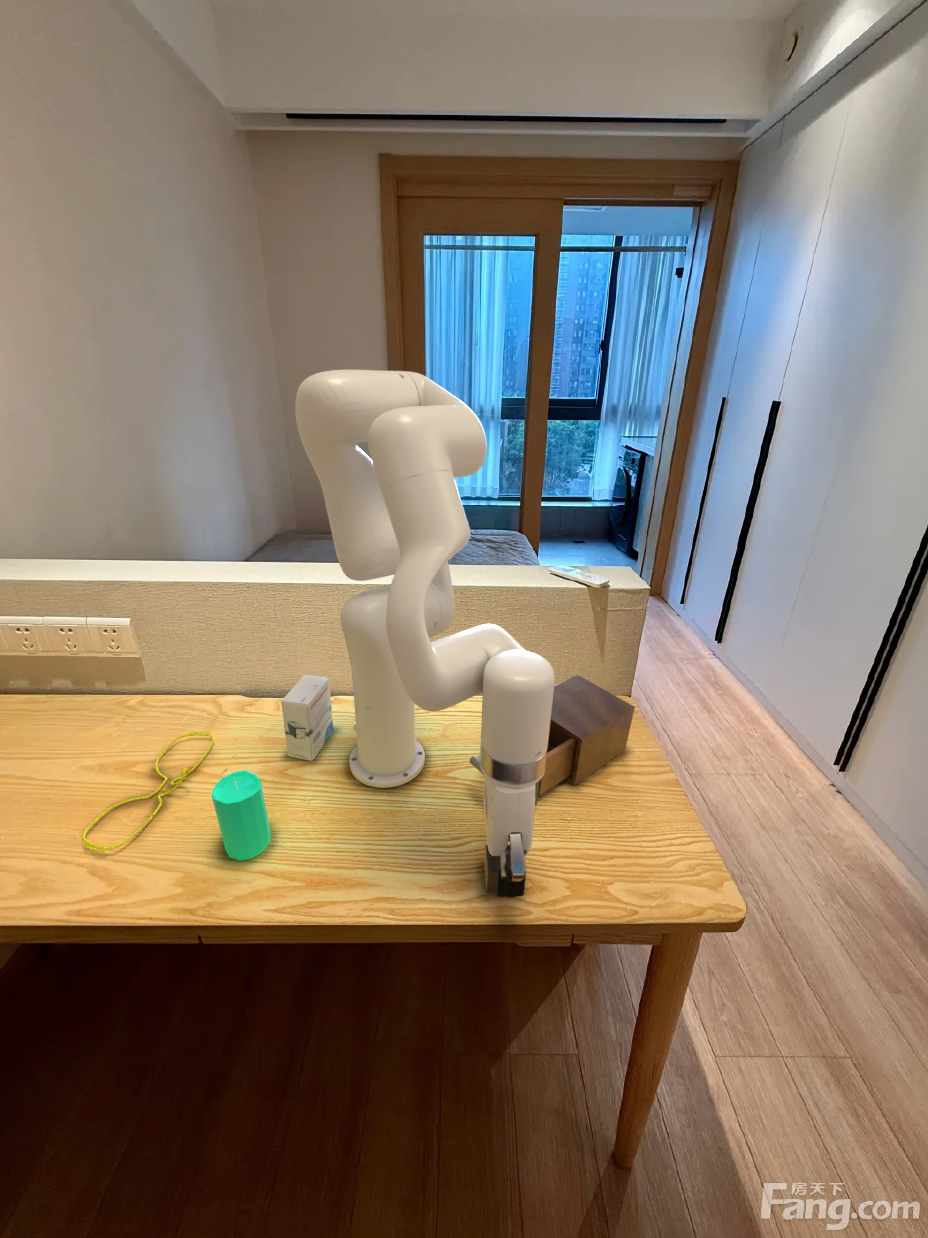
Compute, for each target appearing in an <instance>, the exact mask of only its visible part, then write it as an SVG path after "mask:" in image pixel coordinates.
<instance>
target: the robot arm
mask: <svg viewBox="0 0 928 1238" xmlns="http://www.w3.org/2000/svg"><path fill="white" fill-rule="evenodd" d="M294 406H295V407H294V411H295V422H296V423H295V424H296V427H297V431H298V435H299V439H300V441H301V444H302V447H303V449H304V452H305V454H306V456H307V458H308V460H309V462H310V464H311V466H312V468H313V471H314V472H315V474H316V476H317V479H318V481H319V483H320V486H321V491H322V494H323V498H324V499H323V500H324V504H325V505H324V506H325V508H326V513H327V518H328V522H329V526H330V533H331V537H332V540H333V545H334V550H335V554H336V557H337V560H338V561H337V562H338V563H339V567H340V568H341V570H342V573H343V574H344V576H346V577H347V578H348V579H350V580H353V581H357V582H364V581H371V580H376V579H381V578H385V577H389V576H393V578H392V581H391V583H389V584H385V585H383V586H377V587H375V588H370V589H367V590H364V591H362V592H360V593H357V594H355V595H353V596H352V597H350V598H349V599H348V600H347V601H346V602H345V603H344V604H343V606H342V608H341V610H340V619H339V620H340V627H341V631H342V634H343V638H344V642H345V644H346V648H347V652H348V657H349V661H350V662H349V663H350V671H351V680H352V681H351V682H352V691H353V705H354V718H355V724H354V725H353V727H352V730H353V731H354V732H355V733H356V743H357V744H356V745H355V746H354V747H353V749H352V750H351V752H350V754H349V758H348V759H349V760H348V762H349V763H348V764H349V771H350V772H351V774H352V776H353V777H354V778H355V779H356V780H357V781H359V782H360V783H361V784H364V785H366V786H369V787H372V788H377V789H378V788H379V789H387V788H388V789H389V788H394V787H395V788H396V787H399V786H402V785H404V784H406V783H410V781H412V780H414V779H415V778H416V777H417V776H418V775H419V774H420V773H421V772H422V770H423V768H424V766H425V759H426V755H425V751H424V747H423V746H422V744H421V743H420V742H418V740H417V739H416V707H418V708H420V709H421V710H424V711H427V712H432V713H433V712H440V711H443V710H446V709H449V708H452V707H453V706H456V705H458V704H460V703H462V702H465V701H466V700H469V699H471V698H474V697H475V696H478V695H479V694H482V701H481V702H482V703H481V723H480V725H481V726H480V750H479V751H480V753H479V755H480V768H481V770H482V772H483V774H484V775H485V776H484V775H483V774H482V775H483V776H484V785H483V795H482V796H483V797H482V798H483V799H482V806H483V815H484V816H483V817H484V824H485V825H484V826H485V835H486V845H488V850H489V853H490V854H491V855H492V856H500V863H501V870H498V880H497V892H496V896H497V897H500V898H510V899H511V898H517V897H523V896H524V895H525V888H526V887H525V886H526V877H527V872H526V856H527V855H528V854H529V853H530V852H531V849H532V845H533V844H532V843H533V836H534V822H535V807H536V805H535V786H536V783H537V782H538V781H539V780H540V779H541V778H542V777H543V775H544V773H545V766H546V757H547V748H548V739H549V730H550V721H551V712H552V703H553V693H554V686H555V685H556V684H555V683H556V682H555V680H556V677H555V676H556V675H555V671H554V668H553V666H552V664H551V663H550V662H549V661H548V659H546V658H545V657H543V656H542V655H540V654H538V653H536V652H534V651H533V652H532V651H528V650H526V648H524V647H523V646H522V645H521V644H520V642H518V641H517V640H516V639H515V638H514V637H513V636H512V635H511V633H509V632H508V631H506V630H505V629H504V628H502V627H501V626H499V625H498V624H495V623H482V624H478V625H475V626H472V627H470V628H467V629H463V630H460V631H458V632H455V633H452V634H450V635H447V636H444V637H440V638H438V639H435V640H432V641H431V640H430V638H433V637H436V636H438V635H441V634H443V633H445V632H447V631H448V630H449V629H450V628H451V627H452V625H453V624H454V620H455V615H456V601H455V594H454V588H453V583H452V576H451V570H450V565H449V560H450V559H452V558H453V557H454V556H455V555H456V554H458V553H460V552H461V550H462V549H463V548H465V547H466V546H467V544H468V543H469V541H470V539H471V536H472V535H471V534H472V533H471V532H472V531H471V527H470V524H469V521H468V517H467V514H466V512H465V508H464V506H463V503H462V499H461V495H460V493H459V489H458V486H457V482H456V479H457V478H465V477H469V476H472V475H474V474H475V473H477V472H479V471H480V470H481V468H482V466H483V465H484V463H485V461H486V457H487V453H488V452H487V451H488V442H487V436H486V431H485V429H484V427H483V424H482V423H481V420H480V419H479V417H478V416H477V415H476V413H475V412H474V411H473V410H472V409H471V407H469V406H468V405H467V404H466V403H465V402H464V401H462V400H461V399H460V398H458V397H456V396H455V395H454V394H452V393H451V392H450V391H448V390H446V389H445V388H443V387H442V386H441V385H439V384H438V383H436V382H435V381H434V380H432V379H430V378H429V377H427V376H425V374H421V373H419V372H416V371H409V370H408V371H407V370H379V369H378V370H377V369H376V370H375V369H374V370H373V369H331V370H324V371H320V372H317V373H314V374H311V375H309V376H308V377H307V378H305V379H304V380H303V381H302V382H301V384H300V385H299V387H298V389H297V392H296V396H295V404H294ZM359 443H367V447H368V452H369V455H370V456H369V455H368V454H367V453H366V452H365V451H363V449H361V447H359V446H358V444H359ZM508 845H510V848H506V847H507V846H508ZM506 855H510V857H511V867H506Z"/></svg>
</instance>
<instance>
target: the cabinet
mask: <svg viewBox="0 0 928 1238" xmlns="http://www.w3.org/2000/svg"><path fill="white" fill-rule="evenodd" d="M635 708H636V706H635V705H634V704H633V705H632V704H631V703H629V702H628V701H625V700H624V699H622V698H620V697H618V696H617V695H615V694H613V693H611V692H609V691H607V690H606V689H604V688H603V687H600V686H599V685H597V684H595V683H593V682H592V681H589V680H588V679H586V678H585V677H583V676H581V675H579V674H574V675H573V676H571V677H570V678H567V679H565V680H563V681H561V682H560V683H558V684H554V693H553V703H552V712H551V721H550V723H552V724H553V725H555V726H556V727H558V728H559V729H561V730H562V731H564V732H565V733H566V734H568V735H569V736H571V737H572V738H574V739H575V740H577V741H578V743H577V749H576V755H575V761H574V767H573V773H572V774H571V775H570V776H568V777H567V778H565V779H564V780H566V781H567V782H568V783H569V784H571V785H572V786H577V785H578V784H579V783H581V782H583V781H584V780H585V779H587V778H588V777H589V776H591V775H593V774H594V773H595V772H596V771H598V770H600V769H601V768H602V767H604V766H606V765H607V764H608V763H610V762H611V761H612V760H614V759H615V758H616V757H618V756H620V755H621V754H622V753H624V752H626V749H627V744H628V740H629V735H630V731H631V726H632V721H633V718H634V713H635V710H636V709H635Z"/></svg>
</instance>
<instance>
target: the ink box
mask: <svg viewBox="0 0 928 1238" xmlns="http://www.w3.org/2000/svg"><path fill="white" fill-rule="evenodd" d="M330 685H331V683H330V677H329V676H323V675H315V674H307V673H304V674H303V675H302V677H300V679H298V681H297V682H296V683H295V684H294V686H293V687H292V688H291V689H290V690H289V691H288V692H287V694H285V696H284V697H283V698H282V700H280V705H281V710H282V711H281V713H282V718H283V728H284V735H285V742H286V743H285V744H286V749H287V750H286V751H287V756H288V757H291V758H294V759H299V760H305V761H310V762H312V761H314V760H315V758H316V757H317V756H318V754H319V753H320V751H321V749H322V748H323V747H324V745H325V744H326V742H327V740H328V739H329V738H330V736H331V735H332V733H333V732H334V720H333V709H332V708H333V707H332V696H331V686H330Z"/></svg>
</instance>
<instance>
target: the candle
mask: <svg viewBox="0 0 928 1238" xmlns="http://www.w3.org/2000/svg"><path fill="white" fill-rule="evenodd" d="M262 785H263V784H262V781H261V778H260V777H259V775H257V774H256V773H254V772H251V771H249V770H246V769H244V770H238V771H233V772H231V773H229V774H227V775H225V776H223V777H221V778H220V779H219V781H218V782H216V784H215V785H214V786H213V788H212V792H211V799H212V802H213V806H214V810H215V811H214V812H215V815H216V818H217V823H218V827H219V830H220V835H221V838H222V843H223V846H224V850H225V852H226V853H227V855H228V857H229V858H230V859H232V860H236V861H239V862H240V861H246V860H253V859H254V858H255V857H257V856H259V855H261V854H262V853H264V852H265V850H266V849H267V848H268V846H269V845H270V844H271V837H272V832H271V828H270V822H269V817H268V812H267V806H266V801H265V797H264V791H263V786H262Z"/></svg>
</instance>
